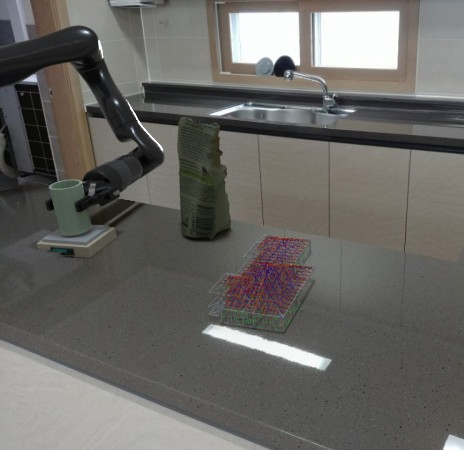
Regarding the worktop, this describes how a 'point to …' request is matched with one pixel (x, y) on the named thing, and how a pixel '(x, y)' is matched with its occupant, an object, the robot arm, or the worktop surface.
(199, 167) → the pouch
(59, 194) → the cup
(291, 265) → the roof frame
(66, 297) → the worktop surface
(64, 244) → the scale
